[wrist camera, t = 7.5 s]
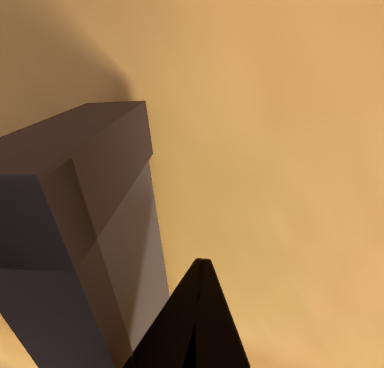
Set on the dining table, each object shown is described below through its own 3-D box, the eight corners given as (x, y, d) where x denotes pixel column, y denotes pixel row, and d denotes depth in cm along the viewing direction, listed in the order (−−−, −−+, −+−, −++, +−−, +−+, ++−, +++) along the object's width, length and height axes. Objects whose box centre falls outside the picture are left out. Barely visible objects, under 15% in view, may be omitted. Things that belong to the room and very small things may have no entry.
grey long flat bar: (185, 381, 17) (172, 508, 12) (157, 378, 17) (133, 502, 12) (145, 100, 8) (36, 174, 3) (86, 103, 8) (-97, 175, 3)
